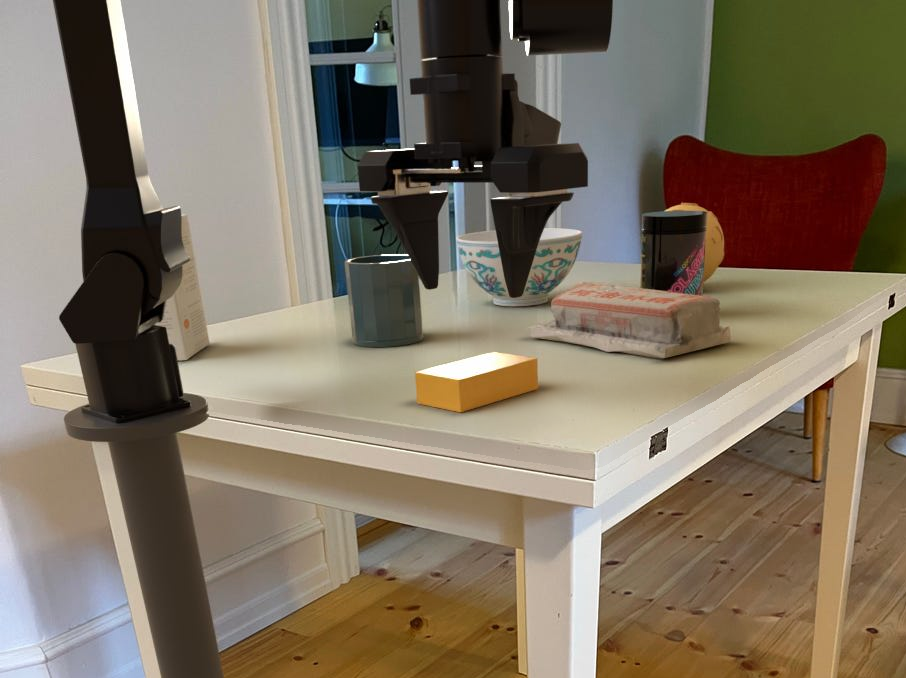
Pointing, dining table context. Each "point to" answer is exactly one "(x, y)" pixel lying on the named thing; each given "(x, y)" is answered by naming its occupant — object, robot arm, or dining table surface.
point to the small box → (186, 307)
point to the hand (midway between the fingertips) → (472, 292)
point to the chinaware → (545, 272)
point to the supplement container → (673, 251)
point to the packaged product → (634, 320)
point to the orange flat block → (476, 381)
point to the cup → (384, 301)
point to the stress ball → (708, 239)
